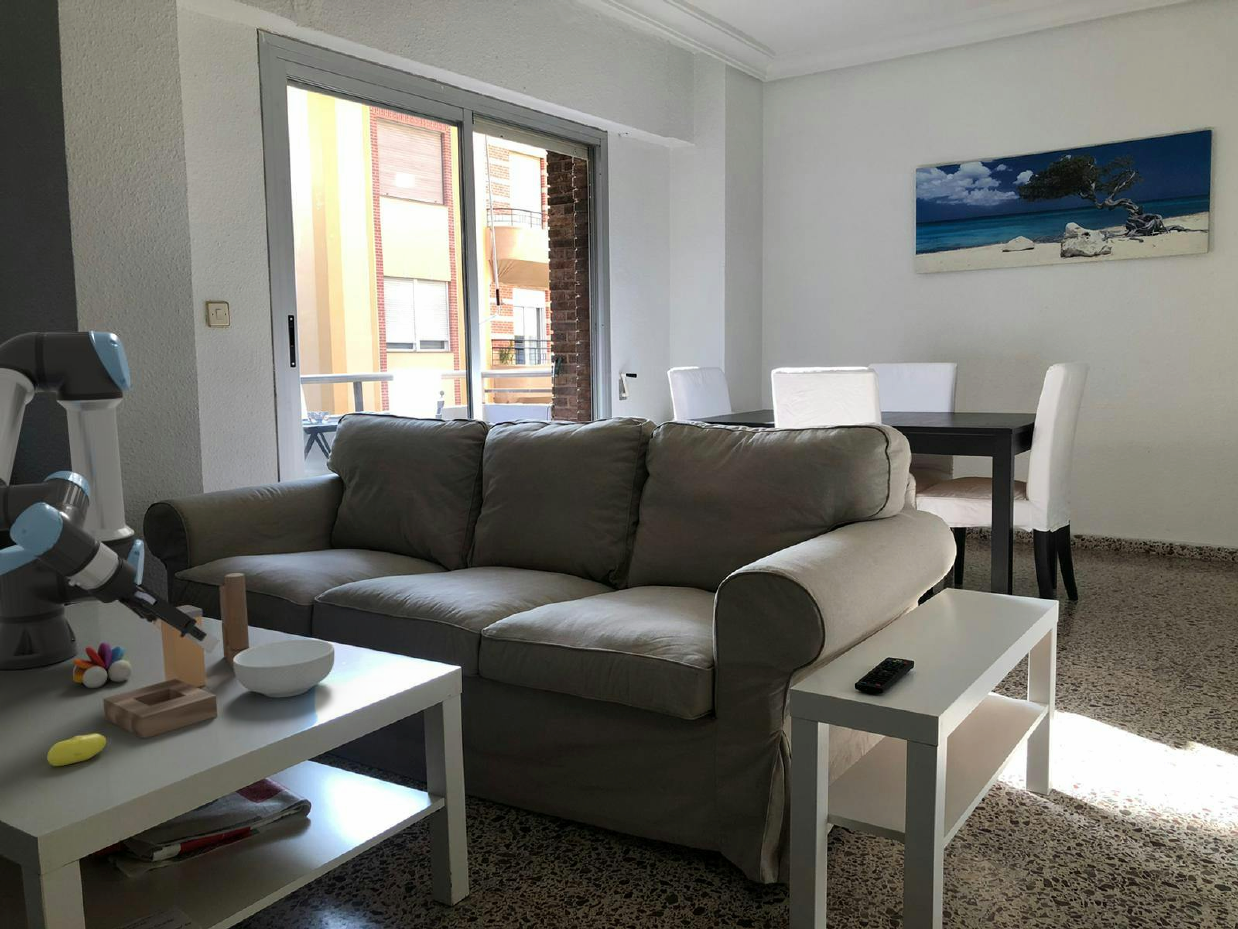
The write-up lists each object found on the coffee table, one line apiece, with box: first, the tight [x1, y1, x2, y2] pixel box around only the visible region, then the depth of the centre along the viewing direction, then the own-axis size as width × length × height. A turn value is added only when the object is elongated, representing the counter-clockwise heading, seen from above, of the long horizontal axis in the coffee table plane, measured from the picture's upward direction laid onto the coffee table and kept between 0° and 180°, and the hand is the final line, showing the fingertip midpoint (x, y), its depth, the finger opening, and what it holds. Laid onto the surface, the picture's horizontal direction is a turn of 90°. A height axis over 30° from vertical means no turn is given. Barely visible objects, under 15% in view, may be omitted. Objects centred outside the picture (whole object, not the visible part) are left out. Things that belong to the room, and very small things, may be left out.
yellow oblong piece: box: [46, 733, 107, 767], centre depth 142 cm, size 4×8×4 cm, turn 134°
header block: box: [102, 679, 218, 740], centre depth 159 cm, size 14×12×4 cm
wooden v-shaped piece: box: [218, 572, 251, 671], centre depth 187 cm, size 4×11×18 cm, turn 31°
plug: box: [160, 604, 207, 688], centre depth 174 cm, size 5×5×14 cm
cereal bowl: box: [233, 638, 335, 699], centre depth 171 cm, size 17×17×7 cm
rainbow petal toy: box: [72, 641, 132, 689], centre depth 178 cm, size 8×10×7 cm
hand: (199, 641), depth 176 cm, fingers open, 10 cm apart
